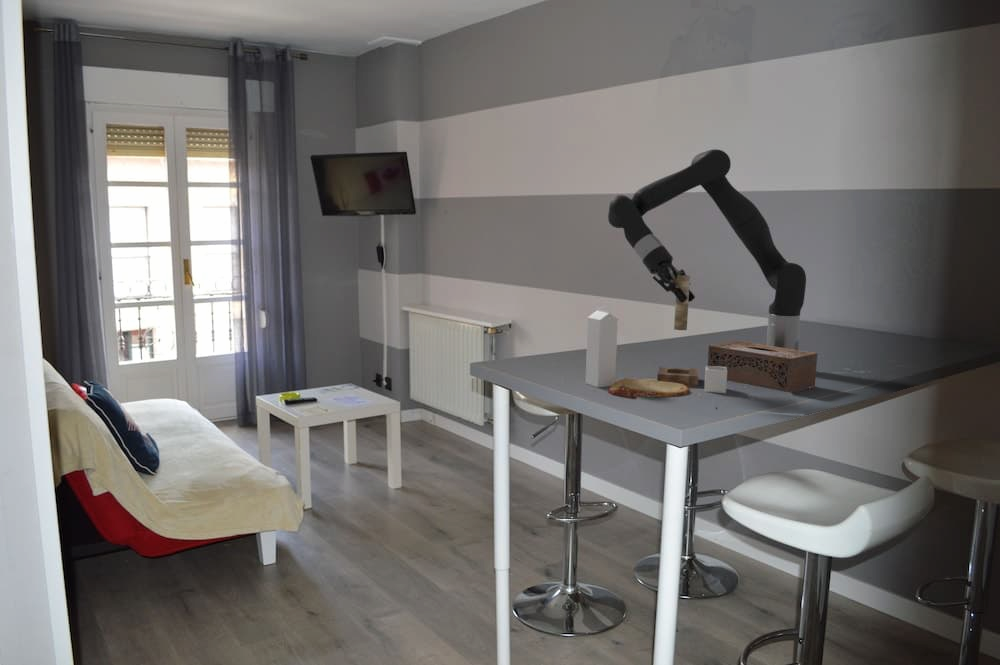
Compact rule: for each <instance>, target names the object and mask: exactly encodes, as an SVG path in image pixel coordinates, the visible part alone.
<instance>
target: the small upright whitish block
mask: <svg viewBox="0 0 1000 665" xmlns="http://www.w3.org/2000/svg"><path fill="white" fill-rule="evenodd" d="M704 371H705V372H704V392H705V393H719V394H720V393H721V394H727V384H728V380H727V367H719V366H708V365H705V370H704Z"/></svg>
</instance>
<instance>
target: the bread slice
mask: <svg viewBox="0 0 1000 665" xmlns="http://www.w3.org/2000/svg"><path fill="white" fill-rule="evenodd" d="M690 393H691V390H690V388H689V386H685V385H683V384H679V383H672V382H665V381H657V380H652V379H651V380H650V379H649V380H648V379H635V378H628V377H625V378H623V379H619V380H618V381H615V383H614V384H613V385H612V386H609V388H608V391H607V394H610V395H611V396H618V397H624V398H628V399H629V398H630V399H637V398H638V397H640V398H641V397H642V398H645V397H646V398H663V397H667V398H668V397H681V396H688V395H689V394H690Z"/></svg>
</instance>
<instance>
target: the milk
mask: <svg viewBox="0 0 1000 665" xmlns="http://www.w3.org/2000/svg"><path fill="white" fill-rule="evenodd" d="M586 328H587V331H586V335H587V336H586V361H585V362H586V363H585V365H586V366H585V384H587V385H589V386H591V387H595V388H608V387H611V386H612V385H613V384H614V383H616V375H617V374H616V373H617V371H616V370H617V345H618V318H617V317H616V316H615V315H612V314H611V313H610V307H607V306H602V305H596V311H594V312H593V313H591V314H590V315H588V317H587V327H586Z"/></svg>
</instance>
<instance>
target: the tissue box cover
mask: <svg viewBox="0 0 1000 665" xmlns="http://www.w3.org/2000/svg"><path fill="white" fill-rule="evenodd" d="M817 362H818V352H815V351H814V352H813V351H808V350H807V351H806V350H794V349H788V348H781V347H774V346H768V345H766V344H761V343H755V342H747V341H742V340H741V341H740V340H733V341H727V342H723V343H722V342H721V343H716V344H711V345H708V354H707V366H719V367H727V381H730V382H736V383H740V384H744V385H752V386H755V387H761V388H765V389H771V390H775V391H782V392H786V393H791V394H795V393H798V392H801V391H800V390H802V389H806V388H809V387H812V386H815V387H816V376H817V364H818V363H817ZM806 390H807V389H806ZM797 391H798V392H797ZM802 391H803V390H802ZM794 392H795V393H794Z"/></svg>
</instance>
